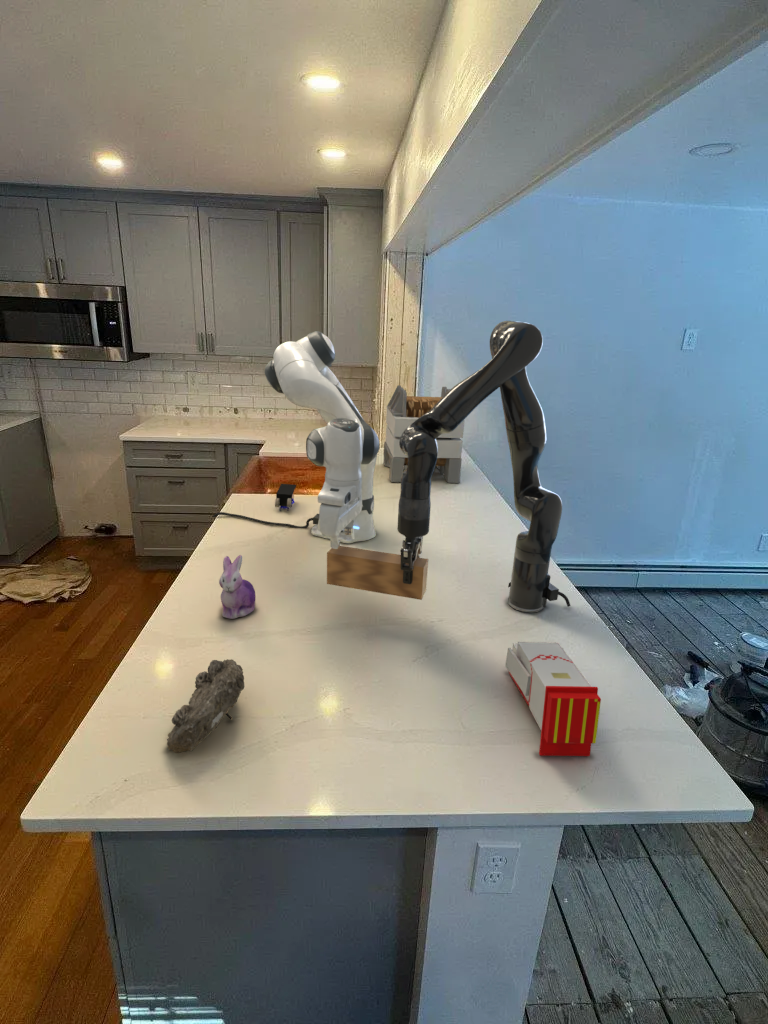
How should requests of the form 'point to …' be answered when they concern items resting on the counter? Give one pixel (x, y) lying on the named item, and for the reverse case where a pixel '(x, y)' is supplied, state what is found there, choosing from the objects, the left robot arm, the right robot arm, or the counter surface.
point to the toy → (556, 697)
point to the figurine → (235, 590)
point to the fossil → (206, 705)
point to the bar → (375, 572)
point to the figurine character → (285, 496)
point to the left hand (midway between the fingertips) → (342, 540)
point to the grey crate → (404, 414)
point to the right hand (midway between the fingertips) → (410, 577)
